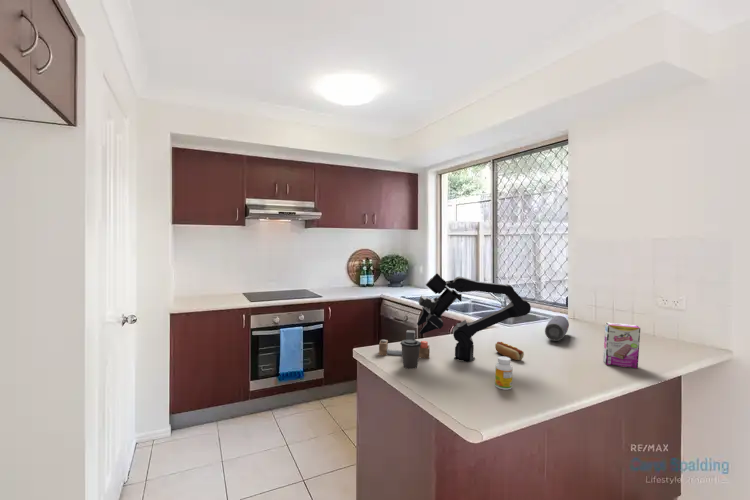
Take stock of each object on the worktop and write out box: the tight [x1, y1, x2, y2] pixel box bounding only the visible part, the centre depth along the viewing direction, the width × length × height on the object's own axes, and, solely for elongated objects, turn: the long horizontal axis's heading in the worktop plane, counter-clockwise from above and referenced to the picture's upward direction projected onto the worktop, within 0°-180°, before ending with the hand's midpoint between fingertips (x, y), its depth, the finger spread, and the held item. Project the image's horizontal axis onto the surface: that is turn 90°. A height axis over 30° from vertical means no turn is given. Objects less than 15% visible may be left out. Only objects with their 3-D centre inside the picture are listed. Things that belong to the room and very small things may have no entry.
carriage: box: [405, 329, 416, 340], centre depth 153 cm, size 5×6×10 cm
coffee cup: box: [399, 339, 421, 370], centre depth 140 cm, size 8×8×10 cm
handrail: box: [387, 349, 402, 356], centre depth 154 cm, size 13×2×2 cm, turn 81°
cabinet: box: [418, 344, 431, 359], centre depth 153 cm, size 5×5×4 cm
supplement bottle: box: [494, 355, 513, 391], centre depth 123 cm, size 5×5×10 cm
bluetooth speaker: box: [544, 315, 570, 342], centre depth 185 cm, size 23×9×10 cm, turn 147°
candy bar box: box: [602, 321, 641, 369], centre depth 146 cm, size 11×5×16 cm, turn 71°
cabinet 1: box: [378, 339, 389, 357], centre depth 155 cm, size 3×5×6 cm, turn 171°
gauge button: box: [420, 340, 429, 349], centre depth 153 cm, size 3×3×4 cm
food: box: [494, 341, 525, 361], centre depth 155 cm, size 14×6×5 cm, turn 23°
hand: (418, 329), depth 153 cm, fingers open, 9 cm apart
